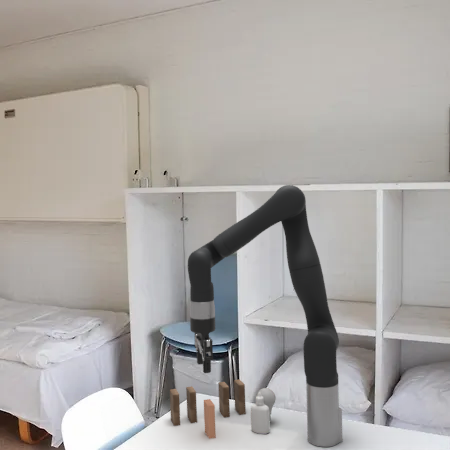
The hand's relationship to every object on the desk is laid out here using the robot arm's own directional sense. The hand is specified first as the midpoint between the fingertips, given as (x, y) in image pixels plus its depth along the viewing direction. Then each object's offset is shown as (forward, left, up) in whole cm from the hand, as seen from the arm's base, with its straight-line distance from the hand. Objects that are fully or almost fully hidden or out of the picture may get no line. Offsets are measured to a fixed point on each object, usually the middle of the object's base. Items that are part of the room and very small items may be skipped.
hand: (203, 368), depth 161 cm
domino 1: (+7, -11, -20) cm, 24 cm away
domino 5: (-15, -11, -20) cm, 28 cm away
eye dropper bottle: (-16, +5, -21) cm, 26 cm away
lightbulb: (-20, 0, -21) cm, 29 cm away
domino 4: (-9, -11, -20) cm, 25 cm away
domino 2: (+2, -11, -20) cm, 23 cm away
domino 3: (-1, +1, -20) cm, 20 cm away
